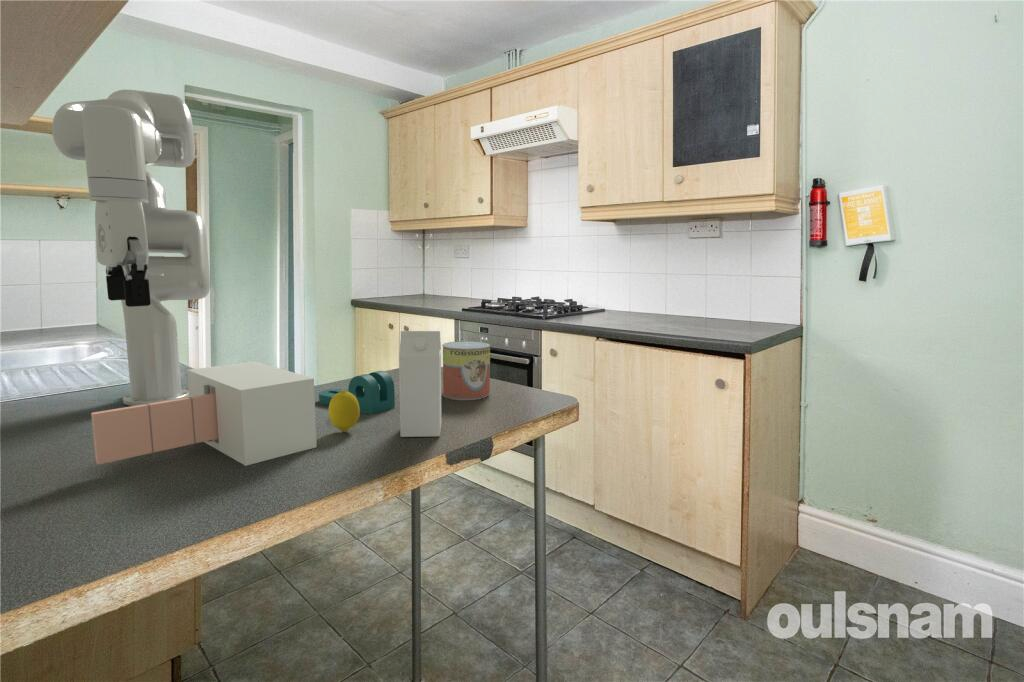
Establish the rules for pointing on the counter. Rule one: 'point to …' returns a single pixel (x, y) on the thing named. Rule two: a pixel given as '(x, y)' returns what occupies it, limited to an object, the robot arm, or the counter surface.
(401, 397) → the milk carton
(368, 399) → the bracket
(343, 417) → the lemon
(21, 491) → the counter surface
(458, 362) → the canned food
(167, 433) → the strip
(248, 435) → the ticket dispenser
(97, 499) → the counter surface
